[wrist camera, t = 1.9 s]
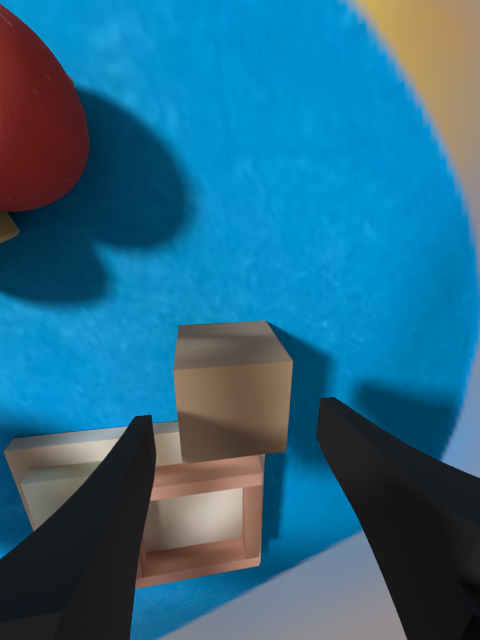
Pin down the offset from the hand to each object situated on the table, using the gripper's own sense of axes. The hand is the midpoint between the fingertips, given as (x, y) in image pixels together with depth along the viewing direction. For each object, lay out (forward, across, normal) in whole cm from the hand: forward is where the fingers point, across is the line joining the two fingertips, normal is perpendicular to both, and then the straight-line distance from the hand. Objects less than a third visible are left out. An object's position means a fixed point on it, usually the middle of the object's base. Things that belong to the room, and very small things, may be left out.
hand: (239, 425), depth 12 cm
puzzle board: (+6, +5, +11) cm, 13 cm away
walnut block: (+6, 0, 0) cm, 6 cm away
